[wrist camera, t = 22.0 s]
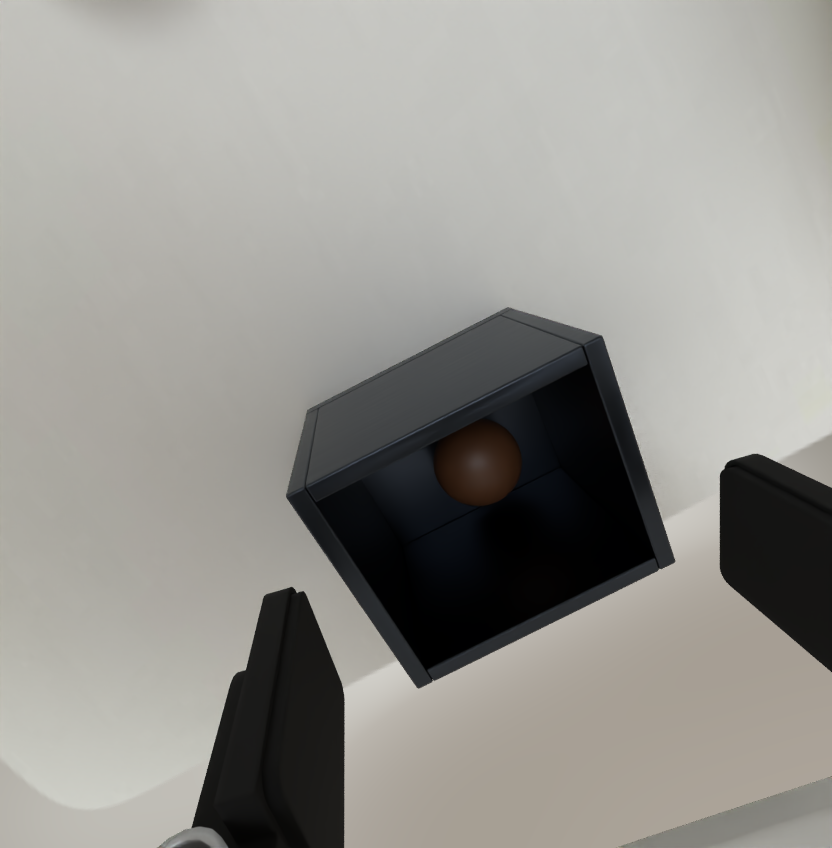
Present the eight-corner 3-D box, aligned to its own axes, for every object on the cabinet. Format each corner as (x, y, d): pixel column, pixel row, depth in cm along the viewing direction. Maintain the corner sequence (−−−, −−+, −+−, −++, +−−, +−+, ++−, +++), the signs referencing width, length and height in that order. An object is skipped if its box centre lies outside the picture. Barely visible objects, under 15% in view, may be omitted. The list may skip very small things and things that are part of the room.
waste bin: (394, 553, 19) (417, 690, 13) (306, 410, 17) (284, 496, 11) (570, 465, 19) (676, 562, 13) (508, 306, 16) (602, 334, 10)
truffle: (424, 498, 17) (478, 538, 15) (409, 429, 16) (466, 460, 14) (485, 462, 19) (543, 494, 16) (475, 395, 17) (538, 419, 15)
